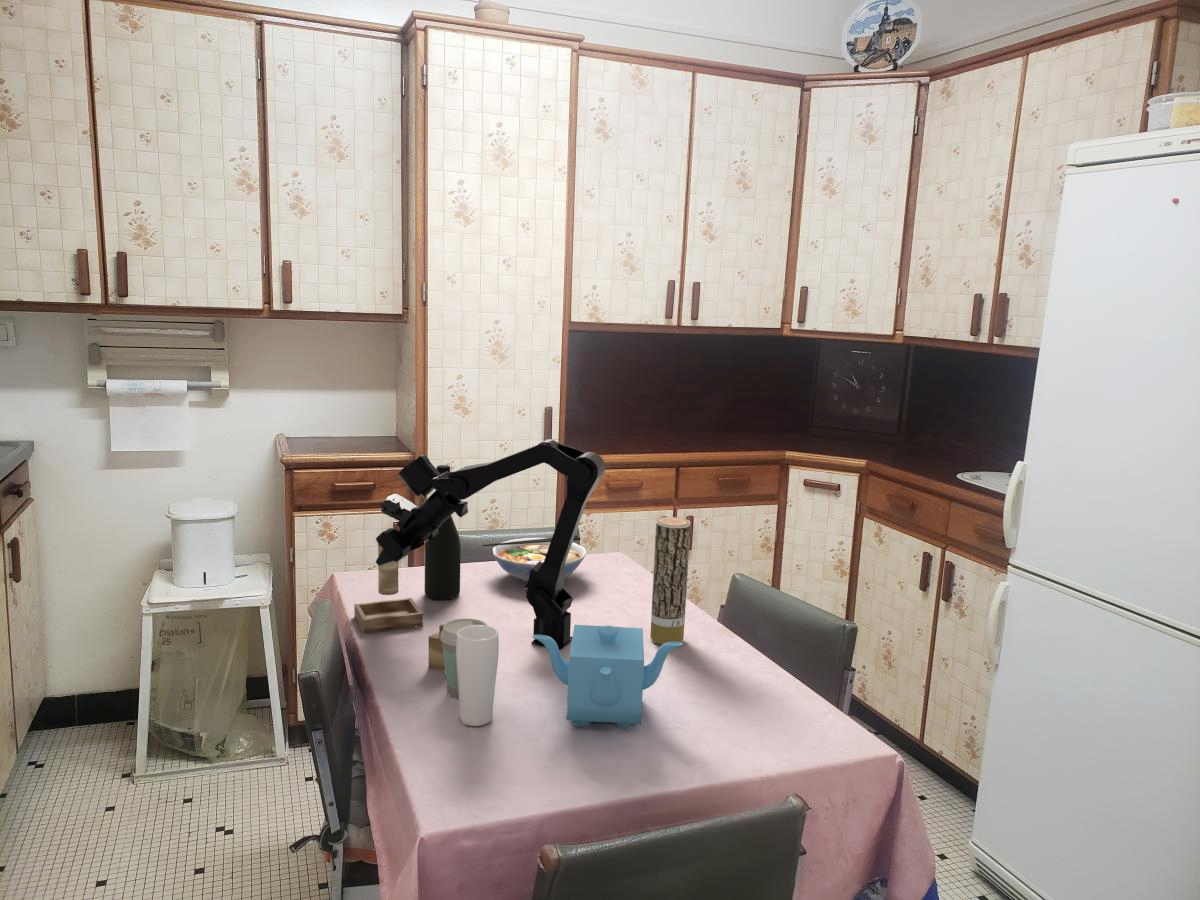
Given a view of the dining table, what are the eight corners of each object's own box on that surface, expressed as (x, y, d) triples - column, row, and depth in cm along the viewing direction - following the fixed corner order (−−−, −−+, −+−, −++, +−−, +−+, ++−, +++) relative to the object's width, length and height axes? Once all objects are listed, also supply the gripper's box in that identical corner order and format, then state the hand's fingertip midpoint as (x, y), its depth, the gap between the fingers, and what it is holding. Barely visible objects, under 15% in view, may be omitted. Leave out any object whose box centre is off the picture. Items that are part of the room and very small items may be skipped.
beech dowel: (402, 591, 183) (402, 540, 181) (386, 596, 180) (386, 544, 178) (390, 587, 186) (390, 536, 184) (374, 591, 183) (373, 540, 181)
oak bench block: (437, 661, 165) (437, 621, 164) (484, 672, 162) (484, 630, 160) (428, 667, 163) (428, 626, 161) (475, 678, 159) (476, 636, 158)
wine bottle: (417, 595, 201) (417, 465, 196) (444, 587, 207) (446, 461, 202) (439, 604, 196) (440, 471, 190) (467, 595, 202) (469, 466, 196)
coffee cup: (479, 705, 149) (481, 638, 146) (431, 699, 150) (432, 632, 148) (495, 684, 157) (497, 620, 155) (450, 678, 158) (450, 614, 156)
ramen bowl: (500, 599, 200) (501, 564, 199) (477, 569, 221) (477, 537, 220) (603, 590, 209) (605, 557, 208) (571, 562, 230) (572, 531, 229)
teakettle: (606, 680, 161) (609, 602, 158) (684, 717, 147) (688, 633, 145) (524, 710, 148) (526, 626, 145) (602, 754, 134) (605, 663, 132)
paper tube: (645, 643, 178) (651, 522, 174) (656, 631, 185) (662, 515, 180) (677, 649, 176) (684, 527, 171) (687, 637, 182) (694, 519, 178)
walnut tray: (411, 610, 191) (411, 597, 191) (422, 626, 182) (423, 613, 182) (354, 616, 186) (354, 604, 186) (363, 633, 177) (363, 620, 177)
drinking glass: (462, 733, 139) (464, 643, 137) (449, 714, 145) (450, 627, 142) (503, 725, 142) (505, 636, 140) (488, 707, 148) (490, 622, 146)
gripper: (425, 474, 187) (377, 520, 191) (385, 492, 169) (333, 543, 173) (459, 513, 187) (411, 559, 191) (423, 536, 169) (370, 585, 173)
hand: (382, 560), depth 182 cm, fingers closed on beech dowel, 4 cm apart
